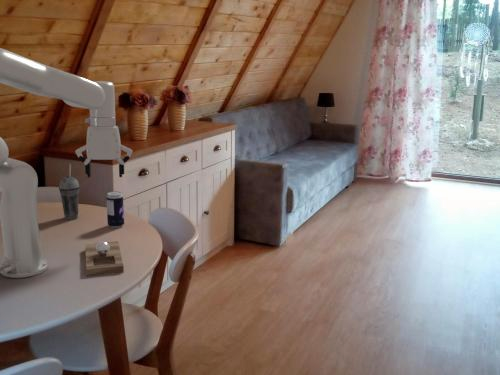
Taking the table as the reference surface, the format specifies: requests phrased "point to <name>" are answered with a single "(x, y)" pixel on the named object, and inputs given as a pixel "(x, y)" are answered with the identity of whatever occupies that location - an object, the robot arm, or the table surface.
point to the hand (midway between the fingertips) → (105, 176)
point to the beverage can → (115, 209)
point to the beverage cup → (69, 196)
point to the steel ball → (102, 248)
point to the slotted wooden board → (103, 260)
